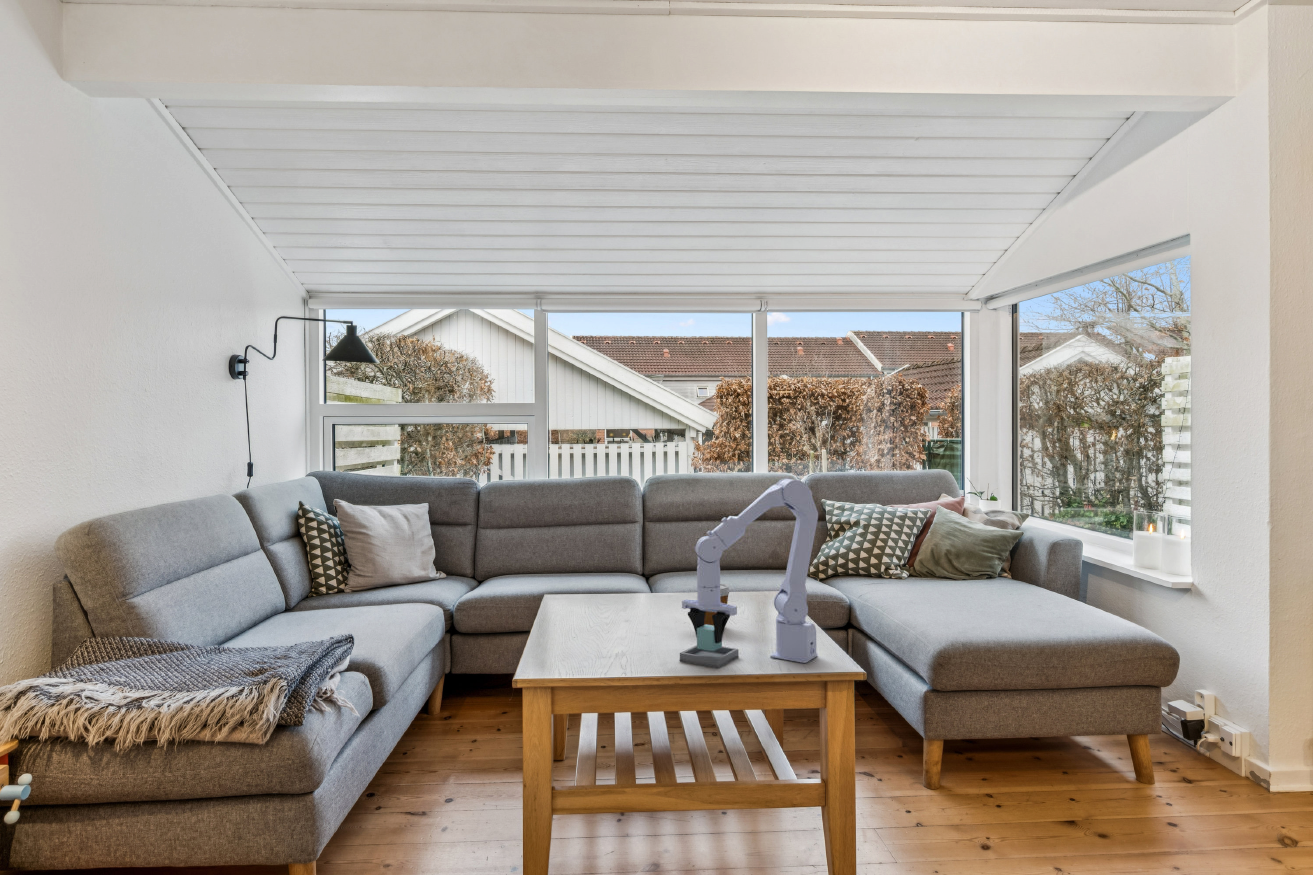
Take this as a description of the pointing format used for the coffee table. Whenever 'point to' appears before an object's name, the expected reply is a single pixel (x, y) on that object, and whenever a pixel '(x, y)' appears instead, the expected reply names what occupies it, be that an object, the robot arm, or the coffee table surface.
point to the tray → (709, 656)
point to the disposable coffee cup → (723, 599)
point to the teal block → (707, 638)
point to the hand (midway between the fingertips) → (709, 640)
